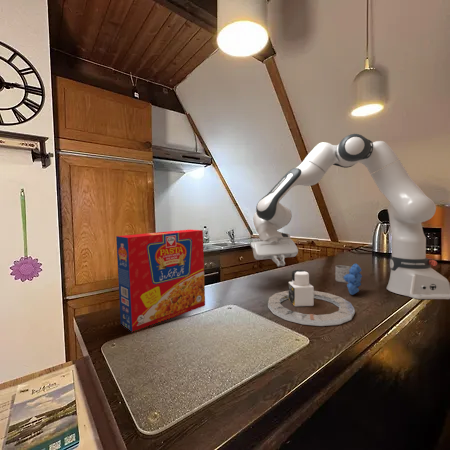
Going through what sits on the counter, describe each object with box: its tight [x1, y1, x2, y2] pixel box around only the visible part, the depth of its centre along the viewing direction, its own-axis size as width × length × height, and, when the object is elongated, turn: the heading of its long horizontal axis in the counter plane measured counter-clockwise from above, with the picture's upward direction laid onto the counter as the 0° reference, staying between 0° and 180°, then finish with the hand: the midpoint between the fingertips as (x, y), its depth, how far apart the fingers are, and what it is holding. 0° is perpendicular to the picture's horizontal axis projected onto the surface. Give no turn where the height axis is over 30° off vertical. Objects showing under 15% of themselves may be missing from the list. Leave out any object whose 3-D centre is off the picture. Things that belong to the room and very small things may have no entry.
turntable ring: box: [267, 290, 356, 327], centre depth 88 cm, size 28×28×2 cm
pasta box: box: [115, 229, 206, 333], centre depth 85 cm, size 28×8×28 cm, turn 135°
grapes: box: [343, 263, 363, 296], centre depth 102 cm, size 12×7×12 cm, turn 137°
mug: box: [334, 264, 351, 284], centre depth 121 cm, size 10×7×7 cm
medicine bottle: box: [288, 269, 315, 307], centre depth 92 cm, size 7×7×12 cm
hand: (281, 265), depth 105 cm, fingers closed
